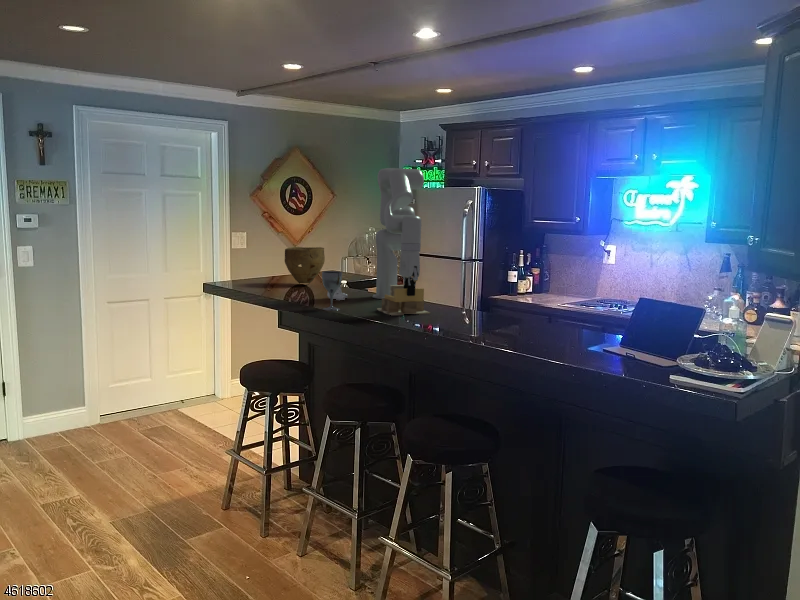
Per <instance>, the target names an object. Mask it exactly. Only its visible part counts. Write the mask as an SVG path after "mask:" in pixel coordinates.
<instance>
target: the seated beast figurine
mask: <svg viewBox="0 0 800 600" xmlns="http://www.w3.org/2000/svg"><path fill="white" fill-rule="evenodd" d="M326 297H328V299H330V294H329V292H328V291H327V296H326ZM345 298H347V299H348V294H347V293H345V292H342V286H340V287H339V288H338V289H337V290H336V292H335V293H334V295H333V299H336V300H335V301H340V300H344V301H345Z"/></svg>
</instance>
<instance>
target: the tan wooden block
mask: <svg viewBox="0 0 800 600" xmlns="http://www.w3.org/2000/svg"><path fill="white" fill-rule="evenodd" d="M424 295H425V289H424V288H423V287H418V288H417V287H415V296H407V289H394V296H391V295H388V294H386V295H385V299H388V300H391V301H394V302H416V301H424V302H425V300H424V299H425V297H424Z"/></svg>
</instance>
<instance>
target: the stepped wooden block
mask: <svg viewBox="0 0 800 600" xmlns="http://www.w3.org/2000/svg"><path fill="white" fill-rule="evenodd" d="M394 289H404V284H397V285H390V295H391V296H394ZM376 311H378V312H381V313H383V314H386V315H388V316H390V315H391V316H405V315H404V314H419V315H431V312H430V311H427V310H425V300H424V301H416V302H394V301H391V300H388V299H385V298H382V299H381V307H378V308H376Z"/></svg>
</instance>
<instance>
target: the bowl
mask: <svg viewBox="0 0 800 600" xmlns="http://www.w3.org/2000/svg"><path fill="white" fill-rule="evenodd" d="M284 263H285V266H286V268H287V270H288V272H289V273H290V275H291V276H292V278H293V279H294V280H295V281H296V282H297V283H298V284H300V283H309V284H310V283H312V282H313V281H314V280H315V279H316V277H317V276H318V275H319V273H320V272H321V271H322V269H323V266H324V264H325V247H321V246H319V247H318V246H317V247H313V246H312V247H308V246H307V247H306V246H305V247H303V246H293V247H287V248H285V249H284Z"/></svg>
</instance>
